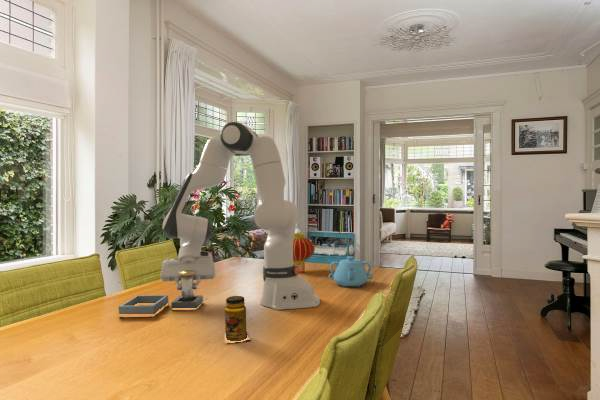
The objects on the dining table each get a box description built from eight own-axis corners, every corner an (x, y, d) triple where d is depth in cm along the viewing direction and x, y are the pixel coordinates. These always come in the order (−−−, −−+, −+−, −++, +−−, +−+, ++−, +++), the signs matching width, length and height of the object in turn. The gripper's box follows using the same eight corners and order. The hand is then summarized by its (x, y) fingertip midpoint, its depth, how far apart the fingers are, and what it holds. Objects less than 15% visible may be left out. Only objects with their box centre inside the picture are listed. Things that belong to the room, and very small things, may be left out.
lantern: (278, 270, 208) (277, 214, 207) (309, 267, 213) (308, 213, 212) (287, 276, 192) (285, 216, 191) (319, 274, 197) (318, 215, 196)
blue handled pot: (371, 280, 181) (371, 253, 180) (375, 291, 161) (375, 261, 161) (329, 280, 183) (328, 253, 182) (328, 291, 163) (327, 261, 162)
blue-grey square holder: (203, 303, 149) (202, 295, 148) (196, 310, 140) (196, 302, 139) (179, 303, 149) (179, 295, 149) (171, 310, 140) (171, 302, 140)
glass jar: (198, 304, 147) (197, 269, 147) (193, 309, 141) (192, 273, 141) (182, 304, 147) (181, 270, 147) (177, 309, 141) (176, 273, 141)
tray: (168, 305, 146) (168, 295, 146) (153, 317, 132) (153, 306, 132) (137, 305, 147) (136, 295, 146) (119, 317, 133) (118, 306, 132)
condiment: (225, 345, 108) (224, 302, 107) (222, 334, 116) (221, 294, 115) (251, 341, 110) (250, 299, 109) (246, 331, 118) (245, 292, 117)
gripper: (161, 254, 149) (156, 285, 139) (215, 252, 152) (214, 282, 143) (163, 264, 153) (159, 295, 144) (216, 261, 157) (215, 291, 147)
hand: (187, 288), depth 143 cm, fingers closed on glass jar, 4 cm apart
